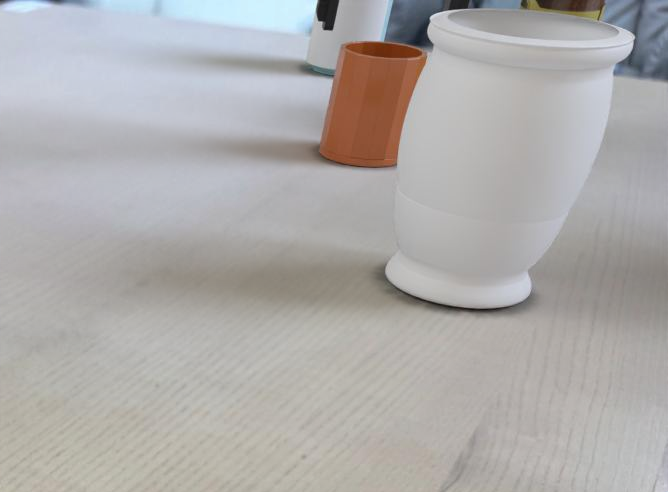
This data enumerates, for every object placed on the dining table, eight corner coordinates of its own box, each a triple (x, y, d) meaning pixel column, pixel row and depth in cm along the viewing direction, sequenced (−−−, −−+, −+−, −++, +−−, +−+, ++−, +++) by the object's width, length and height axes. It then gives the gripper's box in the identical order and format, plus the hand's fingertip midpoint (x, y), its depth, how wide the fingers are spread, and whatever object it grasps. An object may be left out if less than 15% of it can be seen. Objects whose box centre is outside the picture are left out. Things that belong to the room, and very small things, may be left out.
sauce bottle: (509, 119, 107) (584, -138, 96) (577, 135, 103) (664, -131, 92) (470, 130, 104) (544, -134, 92) (540, 147, 100) (625, -127, 88)
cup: (414, 155, 97) (441, 50, 93) (379, 172, 93) (405, 63, 89) (340, 139, 101) (363, 37, 96) (304, 154, 97) (326, 48, 92)
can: (293, 70, 121) (318, -63, 114) (320, 58, 126) (346, -70, 119) (361, 82, 118) (391, -55, 111) (386, 69, 122) (417, -63, 115)
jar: (433, 326, 69) (513, 47, 60) (333, 262, 77) (391, 8, 68) (586, 309, 71) (683, 40, 63) (474, 249, 79) (547, 3, 71)
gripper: (341, -223, 80) (291, 36, 90) (567, -214, 78) (491, 51, 87) (333, -226, 86) (287, 17, 96) (543, -218, 84) (474, 31, 93)
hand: (385, 33), depth 92 cm, fingers open, 8 cm apart
